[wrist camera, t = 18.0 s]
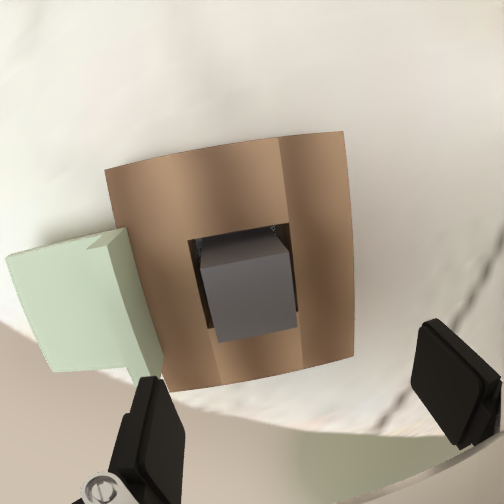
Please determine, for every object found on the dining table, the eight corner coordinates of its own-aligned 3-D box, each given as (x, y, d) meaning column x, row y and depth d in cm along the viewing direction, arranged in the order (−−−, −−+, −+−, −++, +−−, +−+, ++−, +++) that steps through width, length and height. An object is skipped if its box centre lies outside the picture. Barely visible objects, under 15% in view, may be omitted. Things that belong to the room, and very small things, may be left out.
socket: (316, 134, 22) (343, 131, 17) (332, 324, 27) (353, 356, 23) (126, 165, 21) (104, 169, 16) (174, 354, 26) (169, 392, 21)
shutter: (126, 226, 17) (106, 245, 14) (164, 355, 20) (157, 392, 17) (10, 254, 17) (-20, 274, 13) (56, 365, 20) (38, 397, 16)
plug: (263, 219, 24) (288, 251, 16) (271, 274, 25) (297, 327, 18) (203, 230, 23) (200, 268, 16) (214, 285, 25) (218, 343, 17)
